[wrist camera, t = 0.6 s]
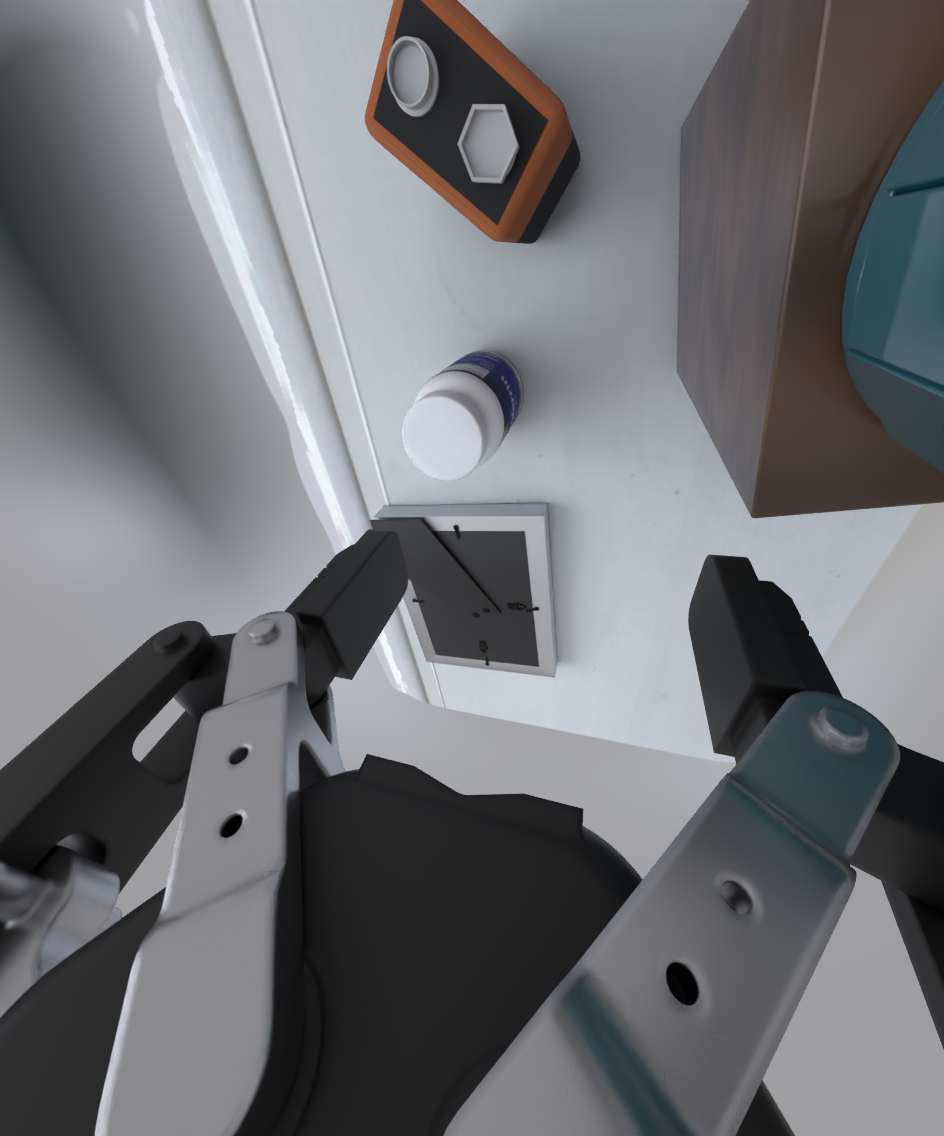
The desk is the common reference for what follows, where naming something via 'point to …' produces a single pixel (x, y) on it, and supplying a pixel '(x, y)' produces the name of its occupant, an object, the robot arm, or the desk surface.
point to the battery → (471, 119)
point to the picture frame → (479, 583)
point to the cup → (903, 294)
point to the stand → (796, 245)
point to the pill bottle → (462, 415)
